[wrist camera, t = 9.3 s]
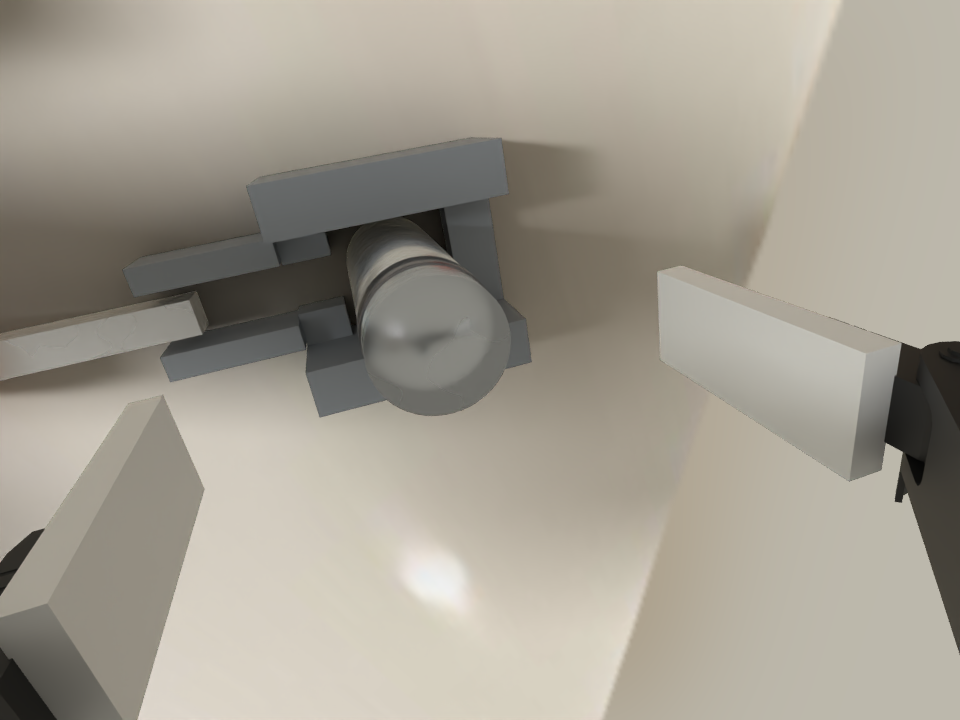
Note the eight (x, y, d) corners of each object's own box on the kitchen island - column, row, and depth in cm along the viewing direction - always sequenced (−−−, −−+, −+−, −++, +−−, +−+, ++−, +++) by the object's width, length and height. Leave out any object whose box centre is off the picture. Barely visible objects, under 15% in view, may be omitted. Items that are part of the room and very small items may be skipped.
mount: (200, 403, 29) (178, 454, 24) (118, 203, 24) (72, 218, 20) (501, 329, 31) (531, 362, 27) (471, 137, 27) (501, 138, 23)
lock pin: (-86, 401, 25) (-198, 474, 20) (-126, 339, 24) (-257, 399, 18) (217, 332, 27) (191, 380, 22) (194, 272, 26) (161, 308, 21)
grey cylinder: (357, 312, 29) (382, 433, 17) (334, 225, 27) (344, 293, 15) (443, 292, 30) (521, 396, 18) (425, 206, 28) (501, 258, 16)
